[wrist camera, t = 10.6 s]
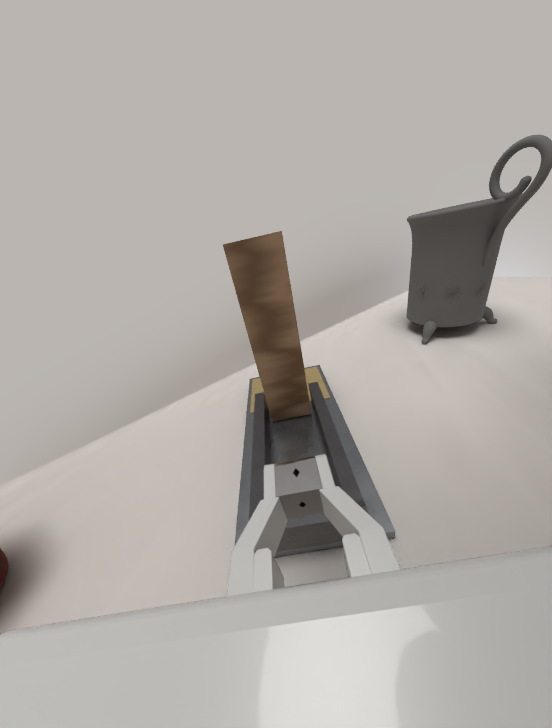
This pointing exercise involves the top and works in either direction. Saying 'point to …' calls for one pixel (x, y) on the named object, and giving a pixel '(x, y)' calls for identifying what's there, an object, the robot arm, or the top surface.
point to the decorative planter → (3, 567)
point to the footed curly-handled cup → (465, 249)
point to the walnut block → (270, 321)
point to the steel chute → (301, 441)
